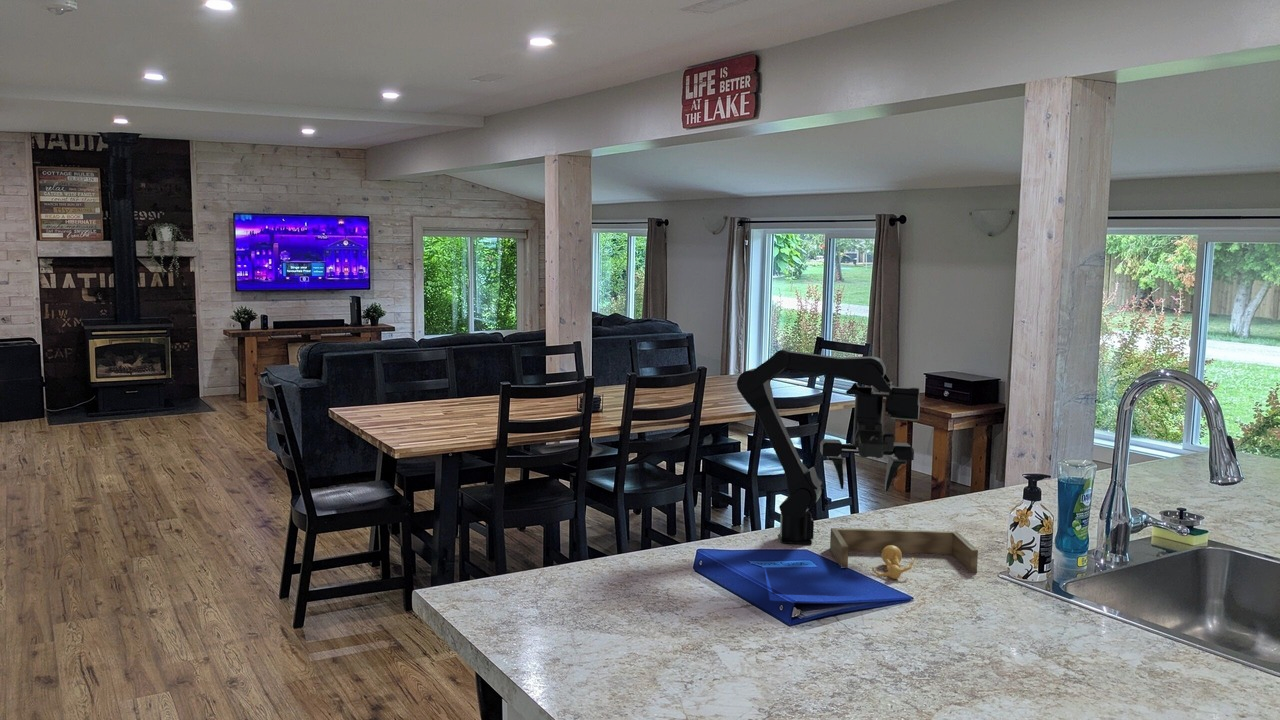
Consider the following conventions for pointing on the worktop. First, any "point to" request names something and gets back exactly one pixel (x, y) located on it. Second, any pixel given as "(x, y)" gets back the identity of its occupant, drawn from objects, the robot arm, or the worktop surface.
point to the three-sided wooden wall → (902, 543)
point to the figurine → (893, 562)
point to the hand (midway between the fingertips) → (864, 489)
